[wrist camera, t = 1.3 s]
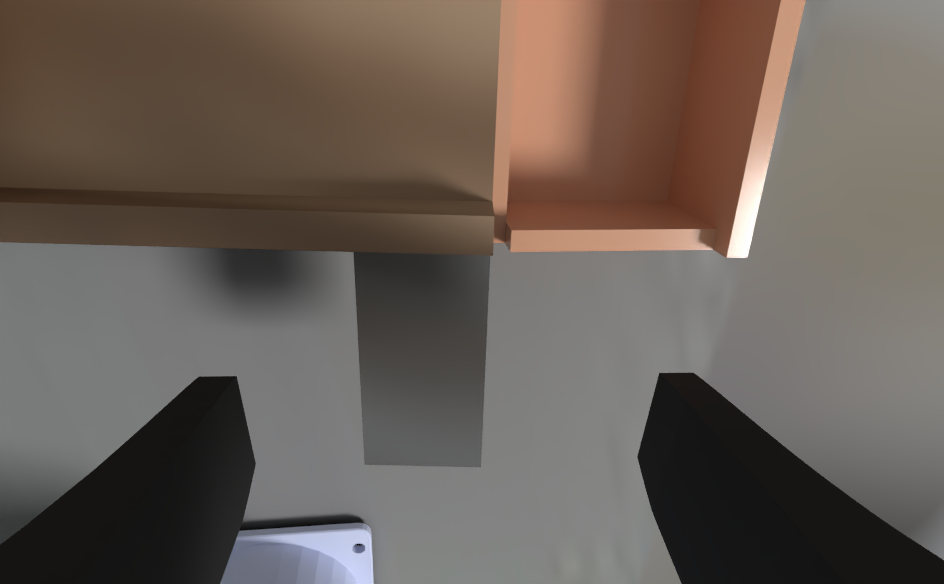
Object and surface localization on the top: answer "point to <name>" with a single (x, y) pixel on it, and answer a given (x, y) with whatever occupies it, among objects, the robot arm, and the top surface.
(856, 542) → the robot arm
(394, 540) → the top surface
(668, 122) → the cup
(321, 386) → the top surface
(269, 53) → the lever board
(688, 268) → the top surface
